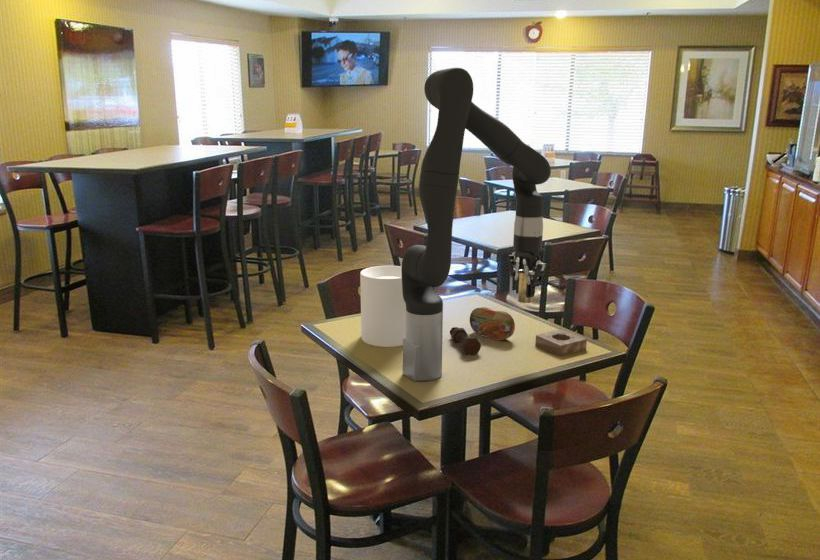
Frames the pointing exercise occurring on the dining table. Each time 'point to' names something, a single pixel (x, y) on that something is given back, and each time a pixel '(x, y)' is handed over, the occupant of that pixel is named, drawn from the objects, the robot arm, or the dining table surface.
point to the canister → (382, 306)
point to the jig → (561, 342)
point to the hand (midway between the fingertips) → (524, 295)
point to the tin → (492, 323)
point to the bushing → (523, 288)
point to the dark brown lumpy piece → (465, 341)
